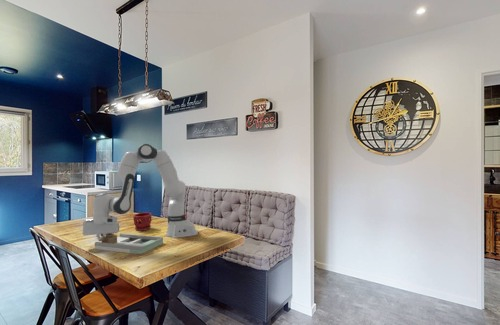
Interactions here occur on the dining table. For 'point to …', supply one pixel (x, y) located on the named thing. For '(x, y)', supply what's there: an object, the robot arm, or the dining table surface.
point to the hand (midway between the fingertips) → (101, 241)
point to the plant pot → (142, 221)
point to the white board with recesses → (126, 243)
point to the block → (109, 239)
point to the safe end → (148, 246)
